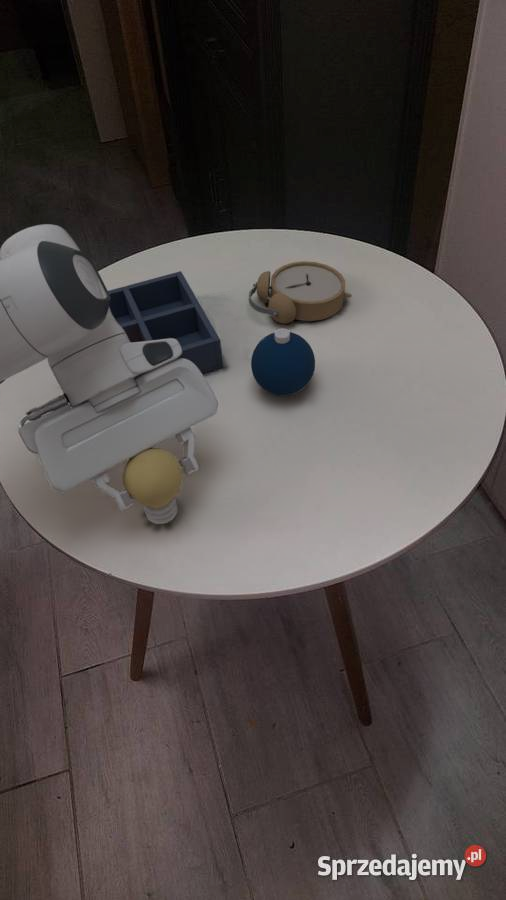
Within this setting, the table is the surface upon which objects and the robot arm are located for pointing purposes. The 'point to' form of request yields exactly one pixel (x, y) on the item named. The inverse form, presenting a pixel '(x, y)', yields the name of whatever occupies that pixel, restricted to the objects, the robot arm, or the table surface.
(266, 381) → the christmas ornament
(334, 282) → the alarm clock
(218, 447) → the table surface
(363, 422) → the table surface
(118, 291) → the navy compartment tray
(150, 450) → the light bulb
